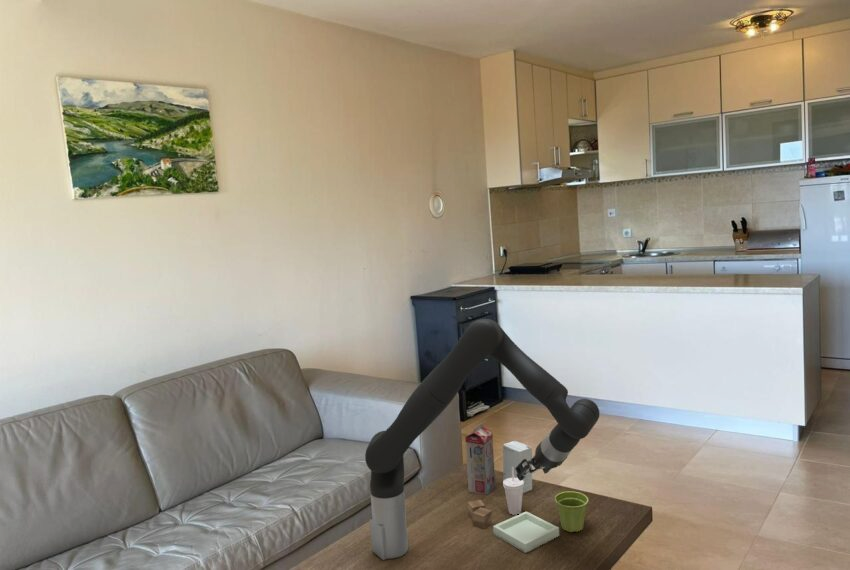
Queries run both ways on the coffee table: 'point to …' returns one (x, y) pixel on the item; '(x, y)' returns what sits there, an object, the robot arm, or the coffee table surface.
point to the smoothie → (513, 493)
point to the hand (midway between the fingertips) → (531, 473)
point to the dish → (526, 531)
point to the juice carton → (480, 460)
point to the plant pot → (571, 510)
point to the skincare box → (516, 461)
